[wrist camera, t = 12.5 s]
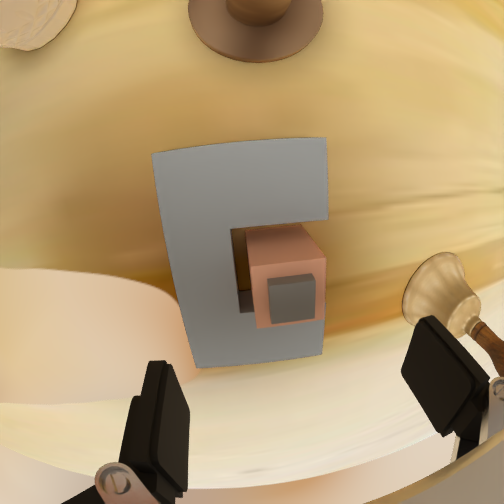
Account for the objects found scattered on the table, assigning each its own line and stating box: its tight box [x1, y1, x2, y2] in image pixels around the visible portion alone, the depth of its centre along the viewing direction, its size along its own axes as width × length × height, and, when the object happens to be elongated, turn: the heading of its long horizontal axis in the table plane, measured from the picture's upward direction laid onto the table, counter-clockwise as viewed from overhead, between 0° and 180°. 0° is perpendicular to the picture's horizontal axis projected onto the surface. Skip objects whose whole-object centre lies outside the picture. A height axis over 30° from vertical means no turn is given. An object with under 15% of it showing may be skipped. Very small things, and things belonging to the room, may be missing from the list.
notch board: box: [151, 138, 328, 368], centre depth 19 cm, size 16×10×3 cm, turn 5°
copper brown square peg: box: [245, 225, 326, 329], centre depth 18 cm, size 4×4×7 cm
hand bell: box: [402, 252, 504, 377], centre depth 16 cm, size 8×8×16 cm
